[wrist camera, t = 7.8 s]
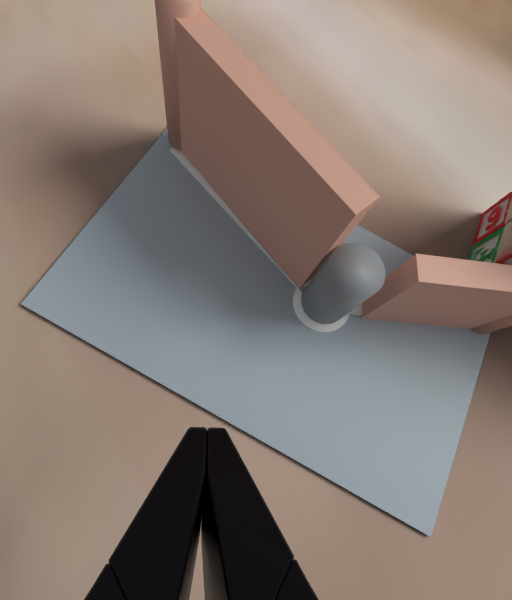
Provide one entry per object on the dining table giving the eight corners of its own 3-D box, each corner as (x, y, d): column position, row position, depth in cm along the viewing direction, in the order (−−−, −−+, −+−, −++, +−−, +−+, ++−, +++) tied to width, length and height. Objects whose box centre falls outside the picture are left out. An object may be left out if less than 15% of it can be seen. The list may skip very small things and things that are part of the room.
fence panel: (355, 306, 23) (450, 235, 14) (322, 333, 22) (402, 276, 13) (192, 119, 25) (190, -35, 17) (156, 137, 24) (135, -16, 16)
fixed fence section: (360, 323, 23) (425, 283, 16) (358, 293, 24) (421, 242, 17) (493, 336, 24) (604, 303, 18) (488, 306, 25) (594, 264, 18)
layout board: (428, 536, 20) (432, 537, 19) (22, 305, 20) (19, 303, 20) (497, 303, 25) (501, 301, 25) (171, 124, 25) (171, 120, 25)
